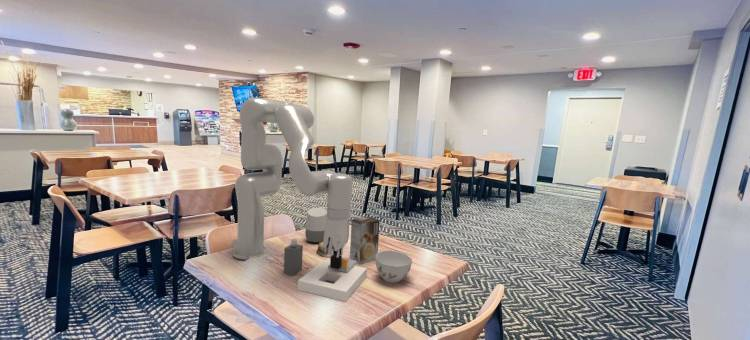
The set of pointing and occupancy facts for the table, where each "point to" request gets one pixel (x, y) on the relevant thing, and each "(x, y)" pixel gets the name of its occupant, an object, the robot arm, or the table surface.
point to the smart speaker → (315, 225)
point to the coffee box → (364, 239)
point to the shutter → (345, 265)
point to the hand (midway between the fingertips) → (335, 267)
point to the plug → (293, 258)
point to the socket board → (332, 281)
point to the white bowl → (393, 265)
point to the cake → (322, 250)
